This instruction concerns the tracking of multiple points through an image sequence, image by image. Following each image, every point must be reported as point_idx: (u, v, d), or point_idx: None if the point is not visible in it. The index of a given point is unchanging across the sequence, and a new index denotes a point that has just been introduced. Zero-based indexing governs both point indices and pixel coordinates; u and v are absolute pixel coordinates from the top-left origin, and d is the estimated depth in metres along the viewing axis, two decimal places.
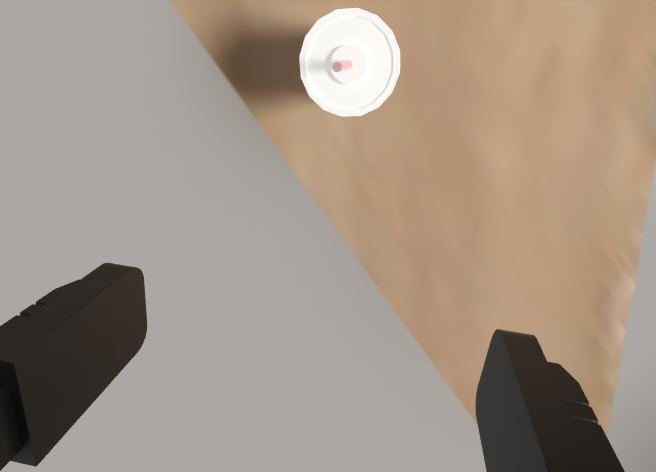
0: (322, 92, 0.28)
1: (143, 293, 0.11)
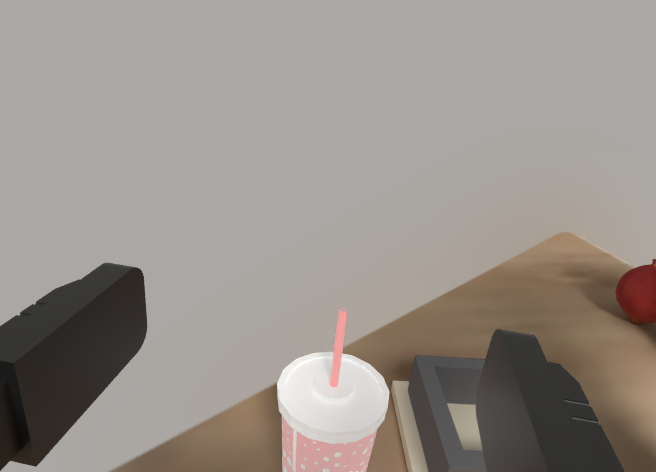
0: (301, 369, 0.26)
1: (143, 293, 0.11)
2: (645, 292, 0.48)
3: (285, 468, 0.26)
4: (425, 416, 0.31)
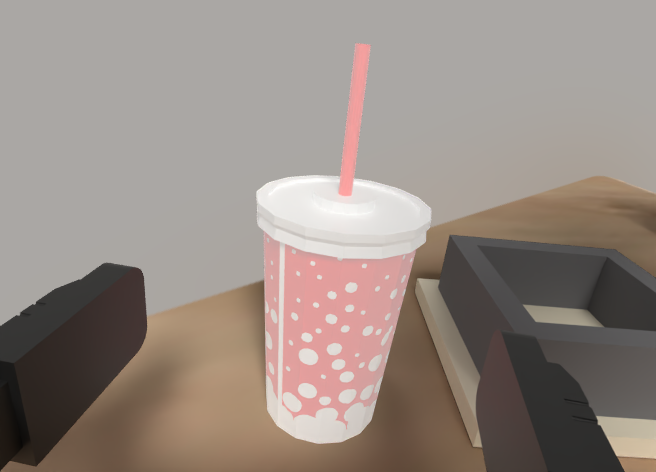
0: (294, 186, 0.17)
1: (143, 293, 0.11)
2: None
3: (268, 334, 0.17)
4: (469, 298, 0.22)
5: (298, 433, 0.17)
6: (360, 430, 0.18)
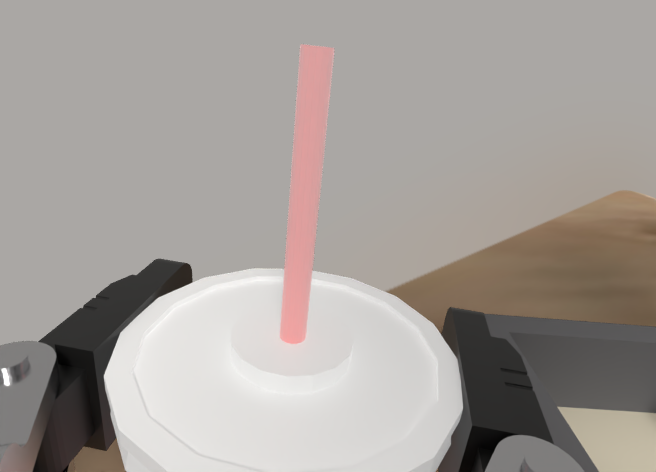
0: (208, 302, 0.09)
1: None
2: None
3: None
4: None
5: None
6: None
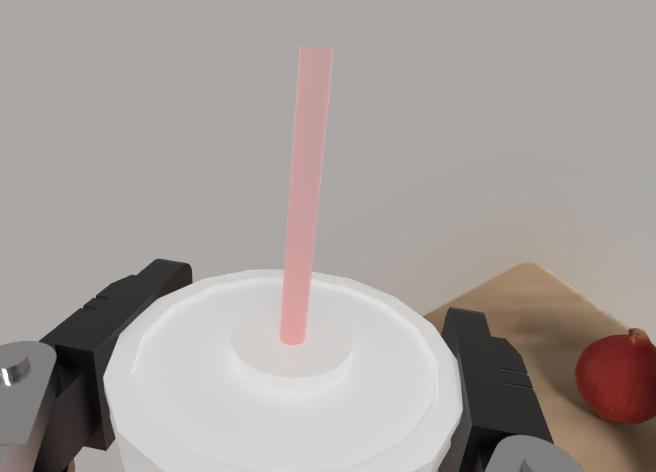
0: (208, 303, 0.09)
1: None
2: (616, 382, 0.31)
3: None
4: None
5: None
6: None
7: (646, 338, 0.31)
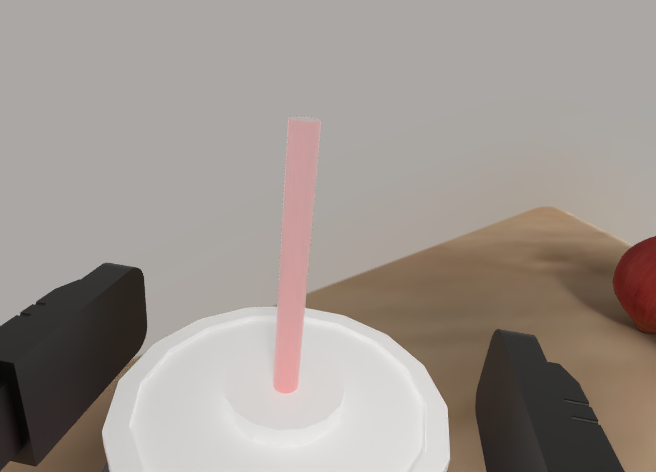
0: (204, 345, 0.10)
1: (143, 293, 0.11)
2: None
3: None
4: None
5: None
6: None
7: None
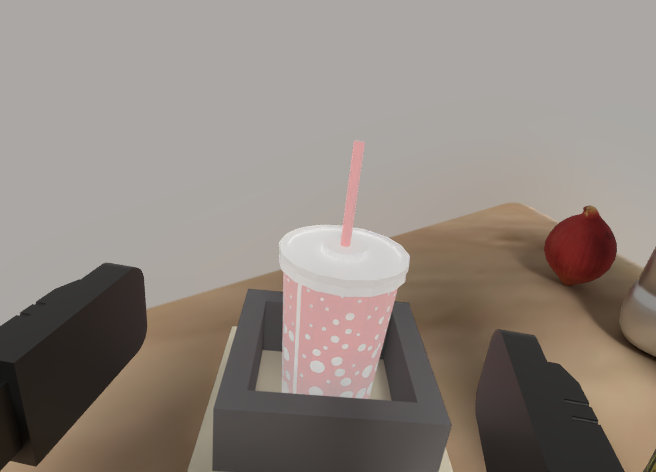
0: (306, 236, 0.22)
1: (143, 293, 0.11)
2: (573, 244, 0.40)
3: (286, 349, 0.22)
4: None
5: None
6: None
7: (596, 211, 0.41)
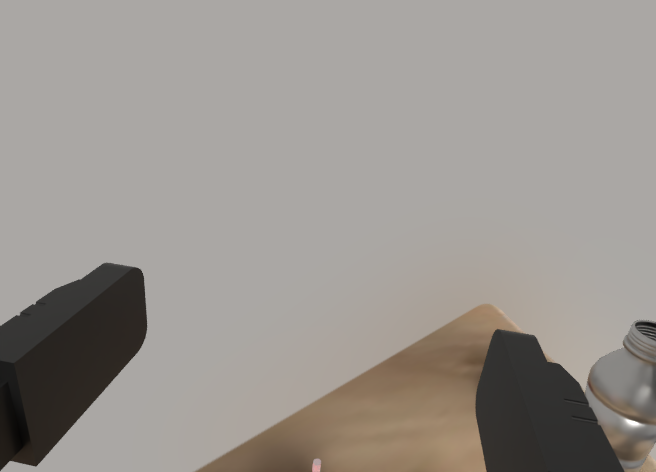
0: None
1: (143, 293, 0.11)
2: None
3: None
4: None
5: None
6: None
7: None
